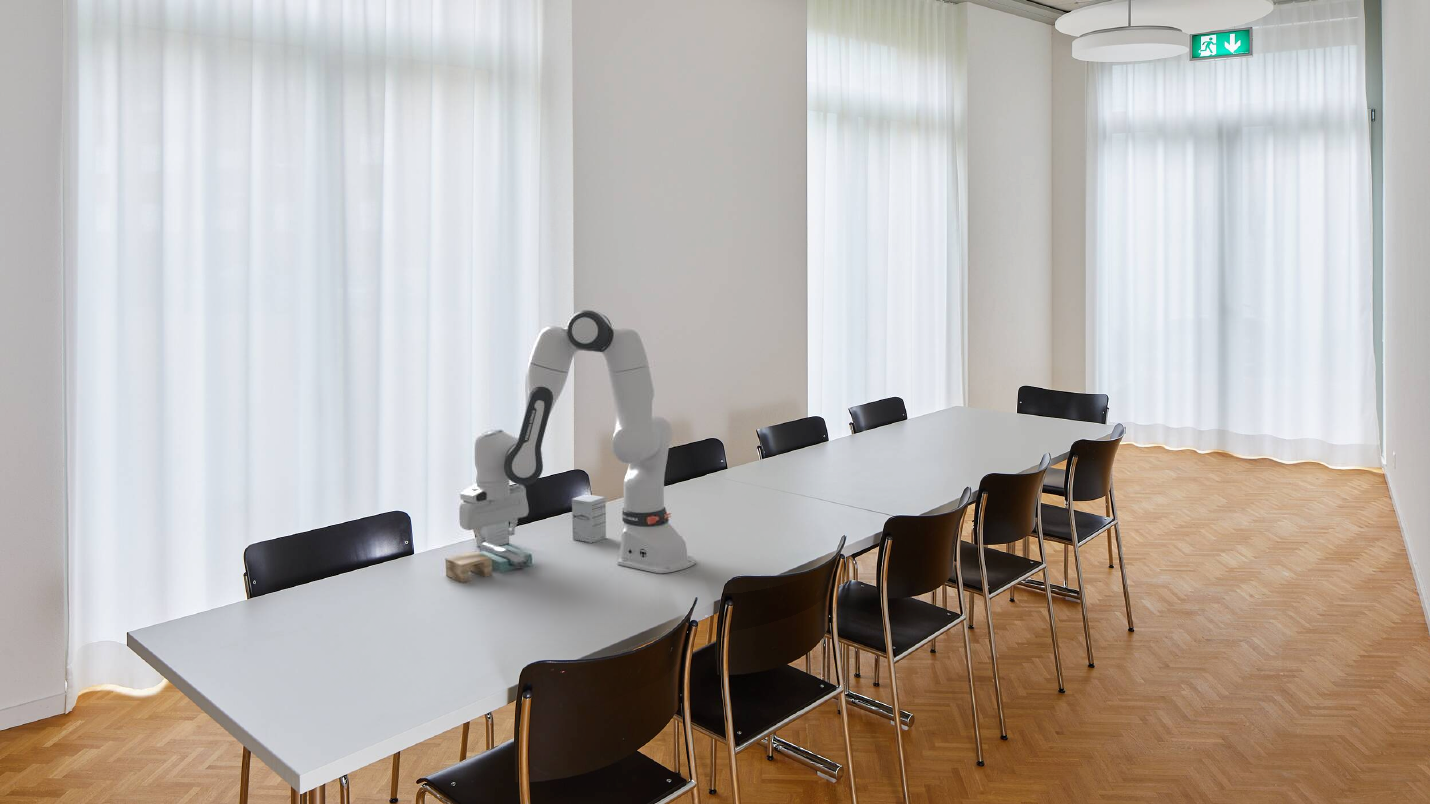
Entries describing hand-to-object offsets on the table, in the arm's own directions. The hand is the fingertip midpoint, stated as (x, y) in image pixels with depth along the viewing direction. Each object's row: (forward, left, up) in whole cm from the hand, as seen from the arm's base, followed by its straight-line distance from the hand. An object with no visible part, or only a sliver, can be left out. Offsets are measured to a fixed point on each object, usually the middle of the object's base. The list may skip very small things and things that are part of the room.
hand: (496, 538), depth 265 cm
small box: (+15, -8, -7) cm, 18 cm away
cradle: (-3, 0, -6) cm, 7 cm away
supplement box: (-1, -31, -7) cm, 32 cm away
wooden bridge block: (-5, +12, -6) cm, 15 cm away
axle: (-3, 0, -5) cm, 6 cm away
